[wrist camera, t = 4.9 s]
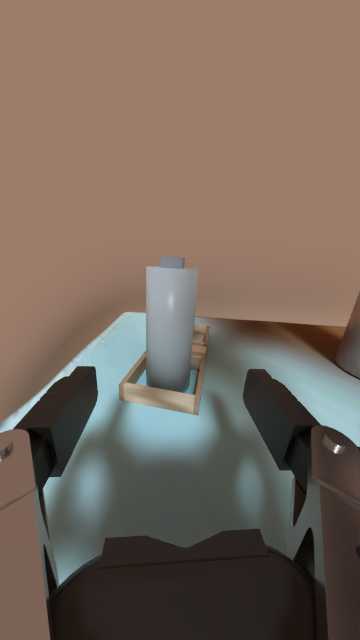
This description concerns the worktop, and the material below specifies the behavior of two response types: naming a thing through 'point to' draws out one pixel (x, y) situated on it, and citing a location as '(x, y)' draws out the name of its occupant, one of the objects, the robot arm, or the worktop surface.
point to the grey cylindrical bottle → (170, 323)
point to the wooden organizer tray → (167, 397)
